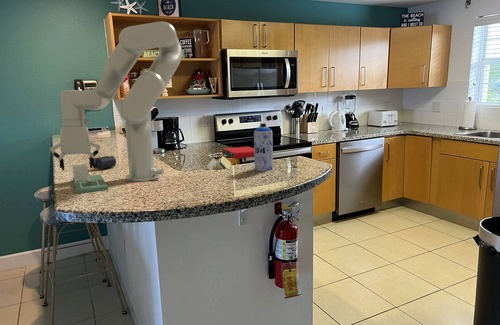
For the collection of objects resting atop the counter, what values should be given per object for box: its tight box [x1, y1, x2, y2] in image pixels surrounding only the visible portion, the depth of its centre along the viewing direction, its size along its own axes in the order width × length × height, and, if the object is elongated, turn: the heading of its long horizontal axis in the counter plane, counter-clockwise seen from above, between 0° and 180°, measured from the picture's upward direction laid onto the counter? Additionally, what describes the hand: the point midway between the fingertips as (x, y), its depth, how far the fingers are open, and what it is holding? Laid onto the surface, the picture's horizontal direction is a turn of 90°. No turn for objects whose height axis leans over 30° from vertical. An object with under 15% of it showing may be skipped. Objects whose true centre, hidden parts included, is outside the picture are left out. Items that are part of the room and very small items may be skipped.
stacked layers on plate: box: [206, 156, 232, 170], centre depth 155 cm, size 10×9×6 cm
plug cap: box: [71, 162, 89, 182], centre depth 137 cm, size 8×5×6 cm, turn 28°
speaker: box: [92, 155, 117, 170], centre depth 164 cm, size 7×5×9 cm
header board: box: [72, 174, 109, 195], centre depth 132 cm, size 24×10×1 cm, turn 28°
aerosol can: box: [253, 123, 274, 172], centre depth 145 cm, size 8×8×20 cm
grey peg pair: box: [86, 173, 92, 185], centre depth 127 cm, size 4×1×4 cm, turn 28°
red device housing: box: [221, 146, 255, 160], centre depth 181 cm, size 18×14×5 cm
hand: (77, 168), depth 136 cm, fingers open, 9 cm apart
